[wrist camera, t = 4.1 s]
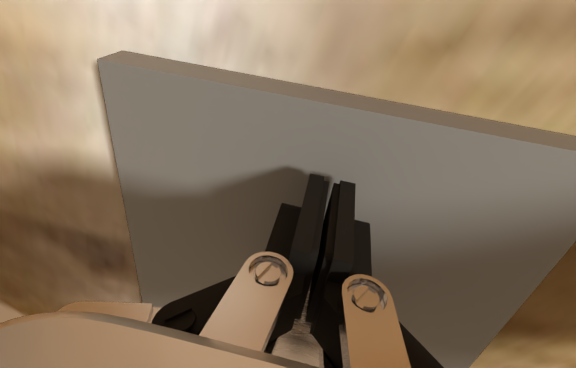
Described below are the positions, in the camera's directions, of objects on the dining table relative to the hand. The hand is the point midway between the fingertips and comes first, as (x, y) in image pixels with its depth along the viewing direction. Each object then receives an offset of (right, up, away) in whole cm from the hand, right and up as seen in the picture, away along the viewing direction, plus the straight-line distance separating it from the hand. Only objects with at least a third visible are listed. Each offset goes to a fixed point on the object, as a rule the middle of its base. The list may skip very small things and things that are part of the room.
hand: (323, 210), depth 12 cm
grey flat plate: (-1, -6, +7) cm, 9 cm away
